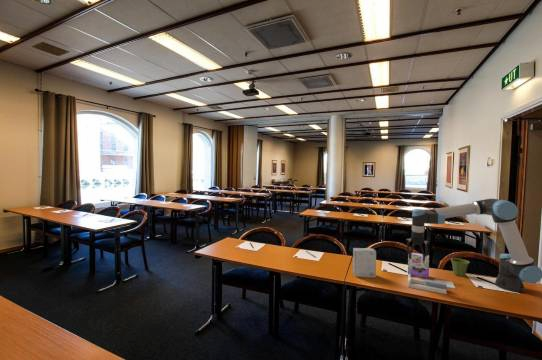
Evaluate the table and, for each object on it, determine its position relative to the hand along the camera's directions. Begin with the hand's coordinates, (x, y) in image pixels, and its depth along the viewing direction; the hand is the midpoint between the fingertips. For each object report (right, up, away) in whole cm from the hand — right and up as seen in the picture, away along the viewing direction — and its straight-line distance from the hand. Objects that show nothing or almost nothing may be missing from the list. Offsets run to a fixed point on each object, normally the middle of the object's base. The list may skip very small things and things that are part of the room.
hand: (416, 264), depth 180 cm
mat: (+22, -15, +3) cm, 27 cm away
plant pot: (+45, -15, +21) cm, 52 cm away
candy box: (+11, -15, +18) cm, 26 cm away
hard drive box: (-31, -14, +17) cm, 38 cm away
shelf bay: (+5, -15, -2) cm, 16 cm away
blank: (+10, -15, -4) cm, 19 cm away
